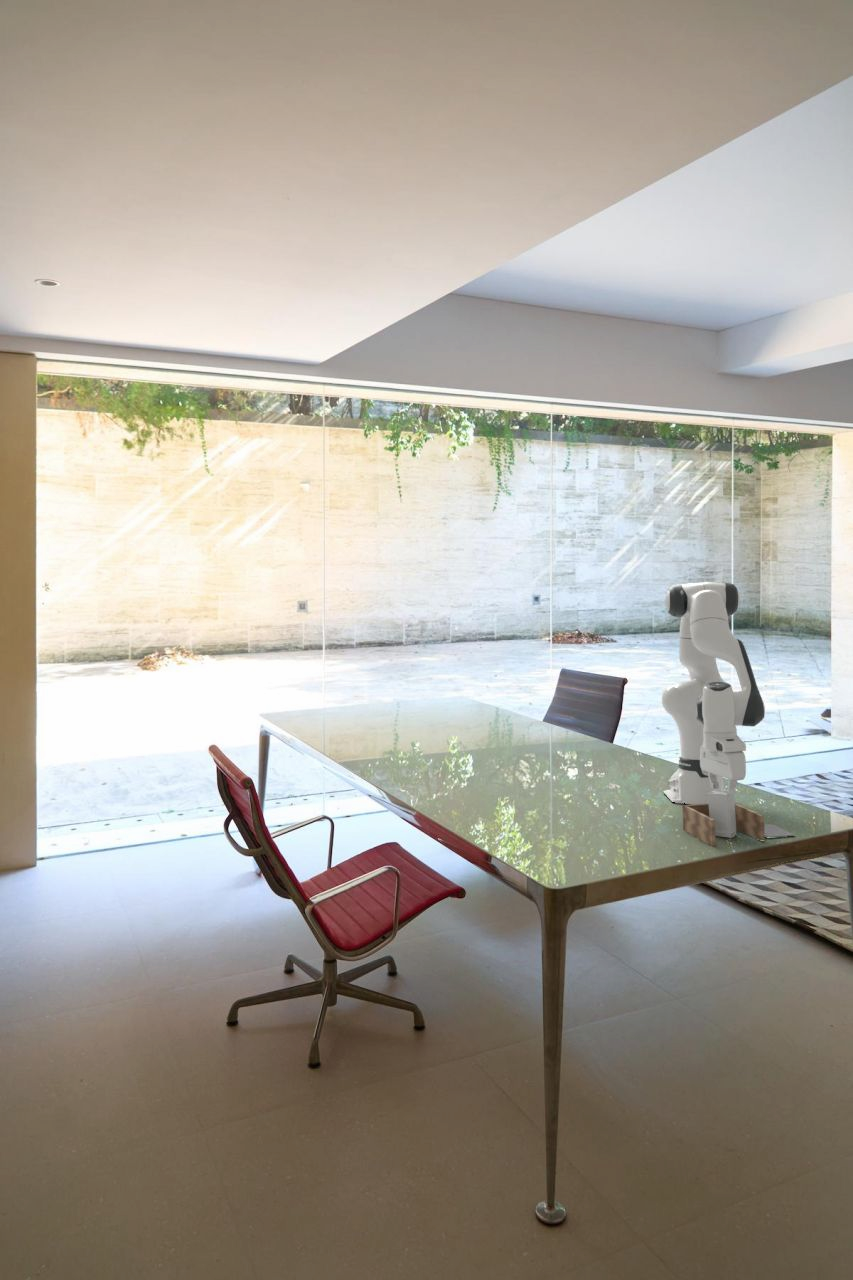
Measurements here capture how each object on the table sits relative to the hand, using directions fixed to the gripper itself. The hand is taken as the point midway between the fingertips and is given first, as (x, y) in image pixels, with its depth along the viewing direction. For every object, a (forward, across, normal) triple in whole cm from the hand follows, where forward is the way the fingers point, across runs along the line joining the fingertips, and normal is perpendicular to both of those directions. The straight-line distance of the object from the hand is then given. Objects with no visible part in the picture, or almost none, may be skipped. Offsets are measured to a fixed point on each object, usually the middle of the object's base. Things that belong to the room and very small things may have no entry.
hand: (722, 791), depth 256 cm
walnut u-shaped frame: (+12, -1, 0) cm, 12 cm away
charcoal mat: (+12, 0, +13) cm, 18 cm away
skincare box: (+13, -1, 0) cm, 13 cm away
